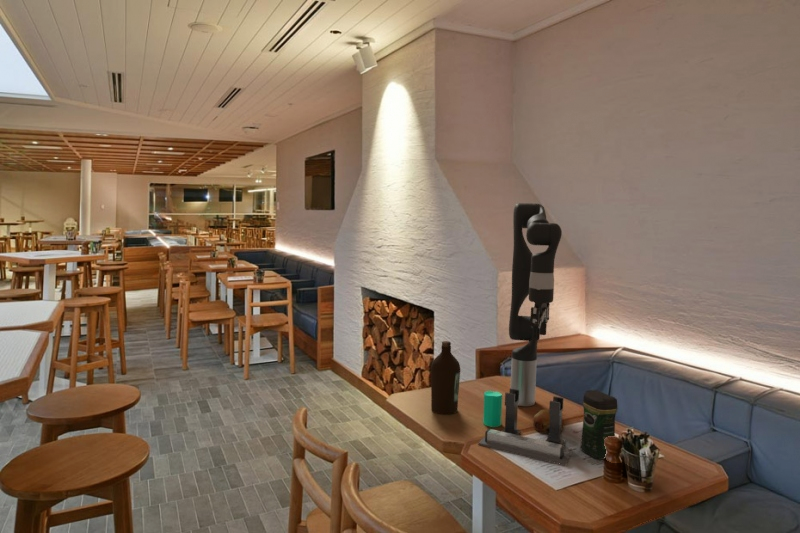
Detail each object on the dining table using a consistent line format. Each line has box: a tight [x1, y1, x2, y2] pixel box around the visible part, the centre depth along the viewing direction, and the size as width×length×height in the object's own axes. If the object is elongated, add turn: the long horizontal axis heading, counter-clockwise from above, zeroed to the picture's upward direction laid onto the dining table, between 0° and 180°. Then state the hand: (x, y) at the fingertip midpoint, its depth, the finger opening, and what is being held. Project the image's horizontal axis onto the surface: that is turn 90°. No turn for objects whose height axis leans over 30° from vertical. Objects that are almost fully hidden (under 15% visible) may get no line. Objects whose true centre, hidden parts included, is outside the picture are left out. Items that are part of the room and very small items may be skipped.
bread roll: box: [532, 409, 565, 435], centre depth 174 cm, size 10×10×8 cm
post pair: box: [501, 387, 566, 445], centre depth 165 cm, size 6×19×14 cm, turn 61°
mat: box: [478, 436, 571, 466], centre depth 157 cm, size 7×26×1 cm, turn 61°
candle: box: [482, 388, 503, 428], centre depth 176 cm, size 6×6×12 cm
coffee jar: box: [580, 389, 618, 460], centre depth 155 cm, size 10×8×19 cm
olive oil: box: [430, 340, 461, 415], centre depth 188 cm, size 11×11×25 cm
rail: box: [484, 427, 566, 459], centre depth 157 cm, size 3×23×3 cm, turn 61°
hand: (539, 337), depth 165 cm, fingers open, 8 cm apart
